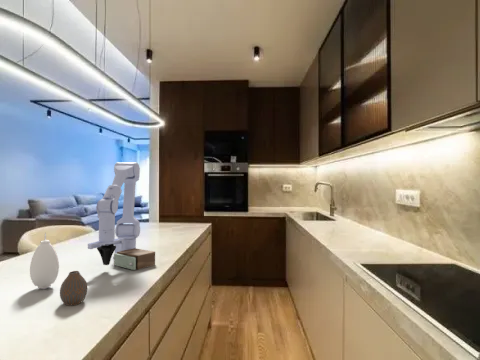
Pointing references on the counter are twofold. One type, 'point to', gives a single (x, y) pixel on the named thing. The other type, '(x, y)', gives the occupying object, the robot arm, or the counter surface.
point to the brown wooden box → (140, 257)
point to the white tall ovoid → (44, 265)
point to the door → (125, 261)
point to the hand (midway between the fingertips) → (106, 264)
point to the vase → (73, 289)
